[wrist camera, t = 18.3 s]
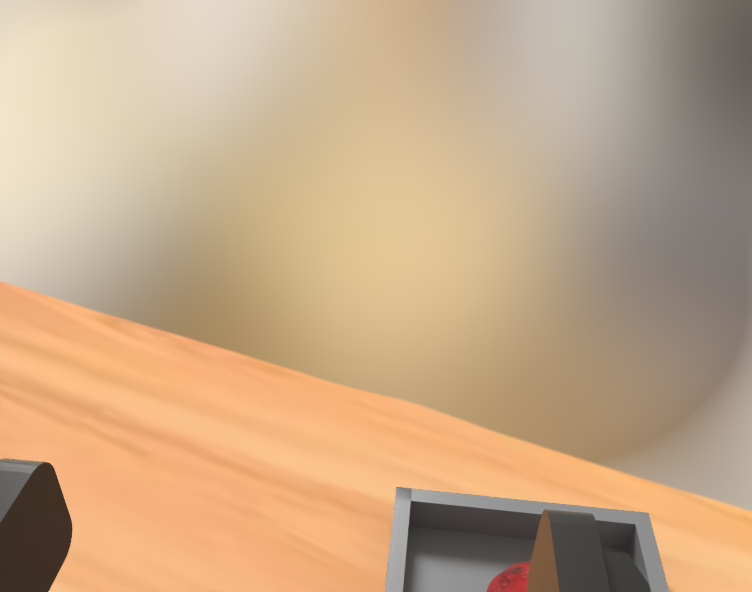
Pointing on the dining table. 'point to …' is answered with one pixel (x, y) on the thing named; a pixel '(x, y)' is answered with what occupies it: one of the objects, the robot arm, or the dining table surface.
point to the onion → (511, 579)
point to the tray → (493, 539)
